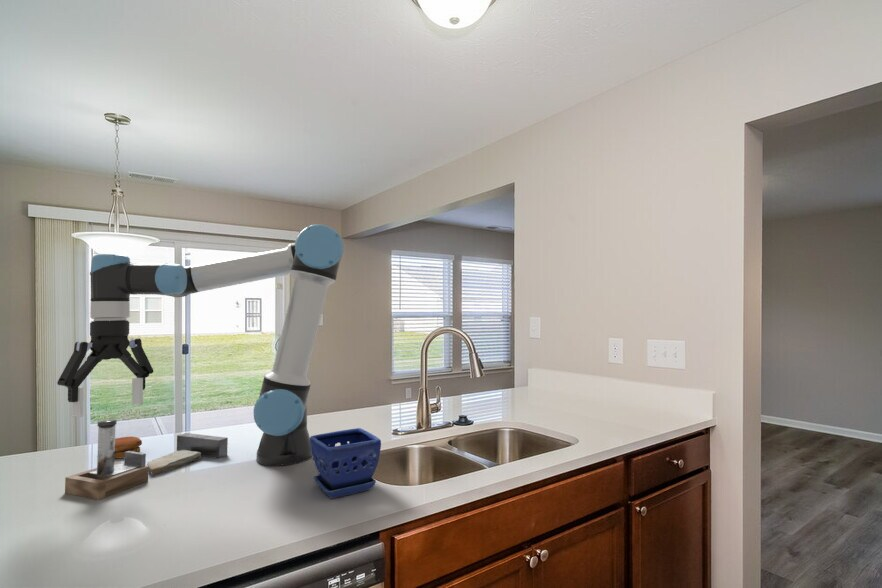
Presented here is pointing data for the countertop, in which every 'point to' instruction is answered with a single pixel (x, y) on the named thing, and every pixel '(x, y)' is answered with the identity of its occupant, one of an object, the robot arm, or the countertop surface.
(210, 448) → the grey rectangular bar
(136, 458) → the ram
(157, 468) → the stone
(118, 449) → the burger
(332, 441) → the flower pot
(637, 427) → the countertop surface
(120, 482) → the frame
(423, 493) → the countertop surface
